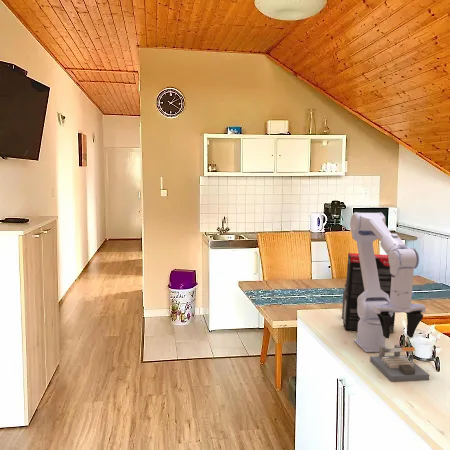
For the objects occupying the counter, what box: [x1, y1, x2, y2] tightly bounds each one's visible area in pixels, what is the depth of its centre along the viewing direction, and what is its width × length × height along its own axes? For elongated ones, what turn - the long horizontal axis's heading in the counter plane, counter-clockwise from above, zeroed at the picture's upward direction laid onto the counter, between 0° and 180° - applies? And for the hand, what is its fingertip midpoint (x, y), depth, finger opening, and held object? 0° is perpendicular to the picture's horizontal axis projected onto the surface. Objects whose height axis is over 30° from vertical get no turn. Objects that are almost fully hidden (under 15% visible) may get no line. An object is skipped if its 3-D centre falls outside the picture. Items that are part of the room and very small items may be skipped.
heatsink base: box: [369, 344, 430, 383], centre depth 131 cm, size 13×11×5 cm
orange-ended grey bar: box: [385, 346, 416, 354], centre depth 131 cm, size 12×3×1 cm, turn 8°
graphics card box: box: [342, 252, 396, 334], centre depth 162 cm, size 17×7×27 cm, turn 84°
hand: (397, 336), depth 132 cm, fingers open, 7 cm apart
